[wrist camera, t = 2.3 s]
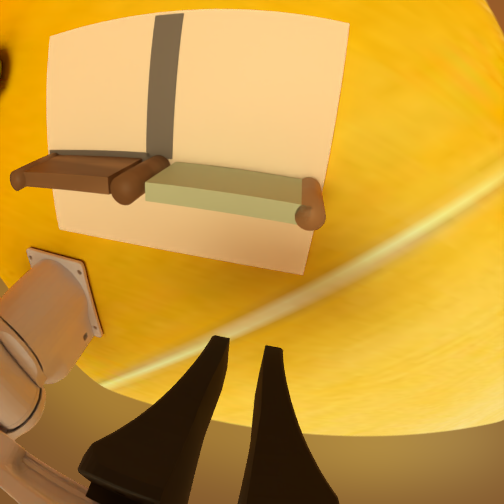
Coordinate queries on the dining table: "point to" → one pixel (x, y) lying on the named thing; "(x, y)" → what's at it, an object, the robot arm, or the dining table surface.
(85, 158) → the base
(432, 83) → the dining table surface
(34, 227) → the dining table surface
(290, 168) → the card
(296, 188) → the fence gate
